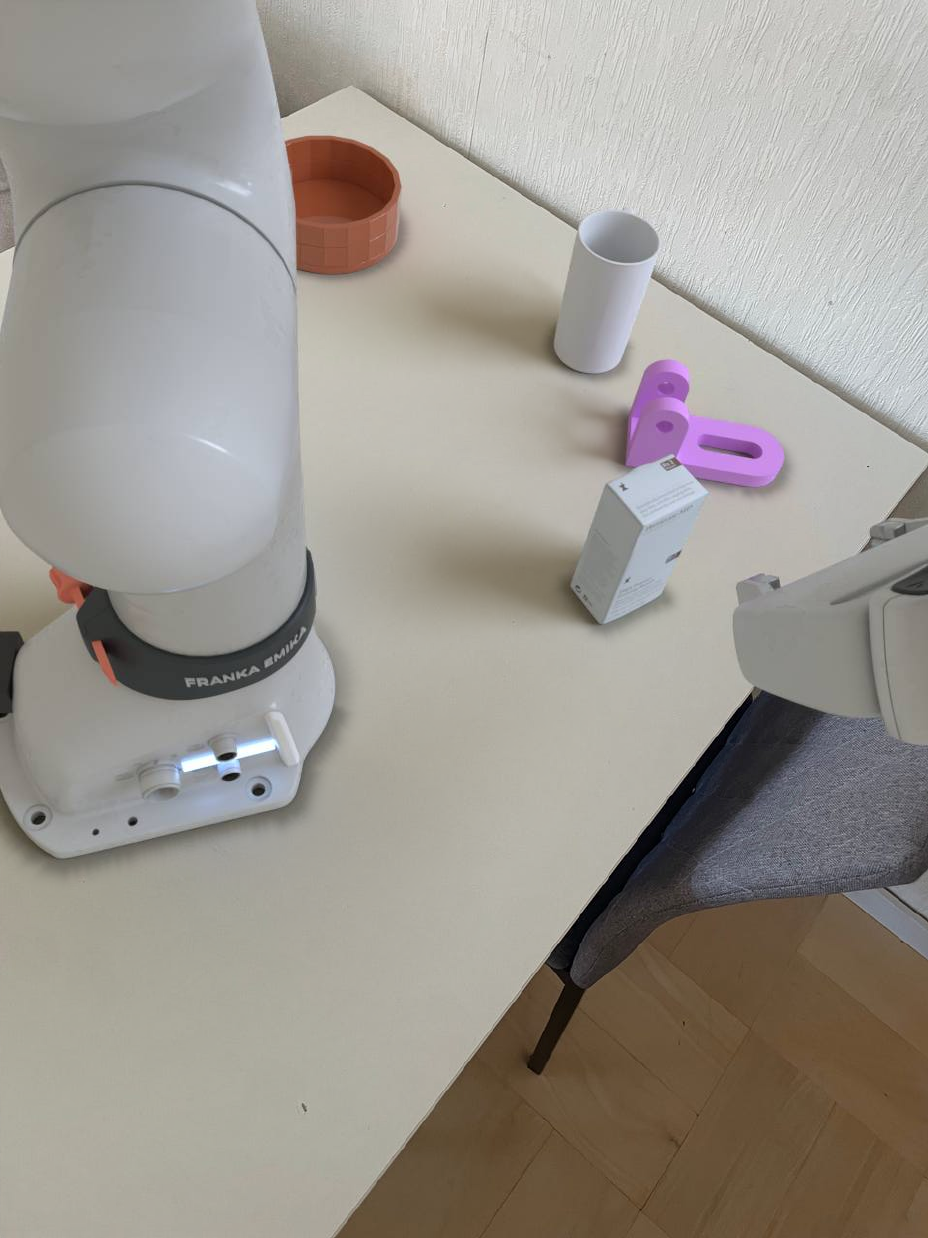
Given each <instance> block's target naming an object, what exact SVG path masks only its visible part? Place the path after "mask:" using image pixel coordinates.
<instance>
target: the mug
mask: <svg viewBox="0 0 928 1238" xmlns="http://www.w3.org/2000/svg"><path fill="white" fill-rule="evenodd" d="M661 248H662V239H661V236H660V234H659V232H658V231H657V229H656V227H654V225H653V224H652V223H650V222H649V221H648V220H647V219H646V218H644V217H642V216H640V215H638V214H636V213H635V210H634V209H633V208H631V207H629V206H626V207H623V208H622V209H617V208H616V209H615V208H610V209H609V208H606V209H600V210H595V211H593V212H590V213H588V214H587V215H586V216H584V217H583V218H582V220H580V222H579V224H578V227H577V232H576V235H575V239H574V244H573V247H572V252H571V257H570V262H569V265H568V266H569V267H568V270H567V275H566V276H567V277H566V280H565V285H564V291H563V295H562V298H561V299H562V300H561V304H560V309H559V314H558V317H557V322H556V326H555V333H554V337H553V338H554V339H553V349H554V352H555V354H556V356H557V358H559V360H560V361H561V362H562V363H563V364H564V365H565V366H566V367H569V368H570V369H572V370H575V371H577V372H581V373H584V374H590V375H591V374H595V375H596V374H597V375H598V374H603V373H606V372H609V371H611V370H613V369H614V368H616V367H617V366H618V364H619V363H620V362H621V360H622V358H623V355H624V353H625V350H626V348H627V345H628V343H629V339H630V337H631V334H632V331H633V329H634V325H635V322H636V319H637V317H638V313H639V311H640V308H641V305H642V303H643V300H644V297H645V294H646V292H647V289H648V286H649V283H650V281H651V278H652V274H653V272H654V269H655V266H656V263H657V260H658V256H659V254H660V251H661Z"/></svg>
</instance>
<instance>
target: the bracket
mask: <svg viewBox="0 0 928 1238" xmlns="http://www.w3.org/2000/svg"><path fill="white" fill-rule="evenodd" d="M689 392H690V371H689V369H688V368H687V366H686V365H685V364H683V362H680V361H679V360H674V359H660V360H656V361H654V362H652V363H650V364H649V365H647V367H646V368H645V370H644V371H643V374H642V377H641V380H640V382H639V385H638V389H637V391H636V393H635V396H634V399H633V401H632V404H631V407H630V411H629V414H628V416H627V430H626V431H627V433H626V450H625V466H626V467H632V468H636V467H639V466H641V465H644V464H648V463H652V462H654V461H656V460H659V459H661V458H663V457H665V456H667V455H670V454H673V455H674V456H675V458H676V459H677V460H678V461H679V462H680V463H681V464H682V465H683V466H684V467H685V468H686V469H687V470H688V471H689V472H690V473H691V474H692V475H693V476H694V477H695V479H702V480H708V481H711V482H712V481H713V482H720V483H724V484H729V485H736V486H742V487H747V488H748V487H749V488H758V487H759V488H760V487H764V486H767V485H768V484H770V483H771V482H772V481H774V480H775V479H776V477H777V476H778V474H779V472H780V470H781V468H782V466H783V465H784V462H785V452H784V449H783V446H782V445H781V443H780V442H779V440H778V439H777V438H776V437H775V436H774V435H773V434H771V432H769V431H766V430H765V429H763V428H761V427H758V426H754V425H750V424H744V423H738V422H733V421H727V420H721V419H716V418H709V417H704V416H699V415H693V414H690V411H689V408H688V406H687V404H685V402H686V399H687V397H688V394H689ZM701 446H704V447H709V448H715V449H720V450H726V451H727V450H728V451H731V452H738V453H744V454H748V455H750V456H752V457H753V458H750V457H746V456H745V457H744V456H740V455H734V454H728V453H724V452H722V453H721V452H718V451H717V452H716V451H710V450H706V449H703V448H701Z"/></svg>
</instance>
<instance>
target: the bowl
mask: <svg viewBox="0 0 928 1238" xmlns="http://www.w3.org/2000/svg"><path fill="white" fill-rule="evenodd" d="M285 145H286V151H287V157H288V163H289V169H290V175H291V181H292V187H293V194H294V200H295V211H296V264H297V269H299V270H301V271H305V272H310V273H315V274H320V275H321V274H322V275H343V274H350V273H355V272H359V271H363V270H365V269H368V268H370V267H372V266H374V265H376V264H377V263H378V264H379V262H381V261H382V260H383V259H385V258H386V257H387V256H388V255H389V254H390V253H391V251H392V250H393V248H394V247H395V245H396V244H397V243H396V242H397V240H398V236H399V227H400V218H401V205H402V204H401V202H402V189H403V185H402V181H401V177H400V172H399V171H398V169H397V168H396V167H395V166H394V163H392V161H391V160H390V159H389V158H388V157H387V156H385V154H383V153H382V152H380V151H379V150H377V149H375V148H374V147H373V146H371V145H367V144H365V143H362V142H361V141H358V140H355V139H351V138H347V137H342V136H336V135H305V136H300V137H295V138H291V139H286V140H285Z"/></svg>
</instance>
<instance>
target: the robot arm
mask: <svg viewBox="0 0 928 1238" xmlns="http://www.w3.org/2000/svg"><path fill="white" fill-rule="evenodd" d="M283 128H284V127H283V123H282V118H281V113H280V108H279V103H278V98H277V92H276V88H275V82H274V78H273V71H272V68H271V63H270V58H269V54H268V50H267V45H266V41H265V38H264V33H263V29H262V25H261V20H260V16H259V11H258V6H257V1H256V0H0V159H1V162H2V165H3V168H4V171H5V174H6V177H7V181H8V184H9V185H8V186H9V190H10V197H11V205H12V218H13V219H12V220H13V234H14V249H13V250H14V251H13V252H14V253H13V258H12V266H11V267H12V268H11V274H10V281H9V286H8V290H7V296H6V301H5V306H4V311H3V316H2V321H1V326H0V512H1V514H2V517H3V519H4V521H5V522H6V524H7V526H8V528H9V529H10V530H11V532H12V533H13V534H14V535H15V537H16V538H17V539H18V540H19V541H20V542H21V543H22V544H23V545H24V546H25V547H26V548H27V549H29V550H30V551H31V552H32V553H33V554H34V555H35V556H37V557H38V558H40V559H41V560H42V561H43V562H45V563H46V564H48V565H50V566H51V568H50V569H49V571H48V573H49V574H48V576H49V578H50V581H51V583H52V584H53V586H54V587H55V589H56V591H57V592H56V593H57V598H58V600H59V601H60V602H62V603H64V604H67V605H71V604H74V605H73V606H71V607H70V608H69V609H67V610H66V611H65V612H64V613H62V614H61V615H60V616H59V617H57V618H56V619H54V620H53V621H52V622H50V623H49V624H47V626H45V627H44V628H43V629H41V630H40V631H38V632H37V633H36V634H34V635H33V636H32V637H30V638H29V639H27V640H26V642H25V641H24V639H23V637H22V635H21V633H20V631H17V630H16V631H15V630H14V631H12V630H0V714H6V715H5V716H3V717H0V791H1V794H2V796H3V799H4V801H5V803H6V805H7V807H8V809H9V811H10V813H11V815H12V817H13V818H14V820H15V821H16V823H17V824H18V827H20V829H21V830H22V831H23V832H24V834H25V835H26V836H27V837H28V838H29V839H30V840H31V842H33V843H34V844H35V845H36V846H37V847H39V848H40V849H42V850H43V851H44V852H45V853H47V854H49V855H50V856H52V857H54V858H56V859H61V860H63V859H70V858H76V857H80V856H84V855H88V854H93V853H97V852H102V851H107V850H109V849H114V848H119V847H122V846H127V845H131V844H135V843H139V842H143V841H148V840H152V839H156V838H160V837H165V836H169V835H173V834H177V833H181V832H186V831H189V830H193V829H197V828H202V827H203V828H204V827H207V826H211V825H215V824H220V823H224V822H227V821H231V820H236V819H240V818H244V817H248V816H253V815H256V814H260V813H265V812H269V811H273V810H277V809H281V808H283V807H286V806H288V805H290V803H291V802H293V800H294V799H295V798H296V797H295V796H296V795H297V792H298V789H299V786H300V782H301V779H302V778H301V777H302V773H303V767H304V762H305V760H306V758H307V756H308V755H309V753H310V751H311V750H312V748H313V747H314V746H315V744H316V743H317V741H318V740H319V738H320V737H321V735H322V734H323V732H324V731H325V728H326V726H327V724H328V723H329V720H330V717H331V714H332V711H333V708H334V703H335V697H336V676H335V671H334V666H333V662H332V660H331V657H330V654H329V652H328V650H327V648H326V647H325V645H324V643H323V642H322V640H321V638H320V637H319V636H318V634H317V631H316V628H315V624H314V621H315V617H316V613H317V596H318V584H317V575H316V569H315V564H314V560H313V556H312V552H311V550H309V548H308V547H307V539H306V538H307V537H306V536H307V534H306V507H305V480H304V479H305V478H304V473H303V468H302V466H303V465H302V448H301V447H302V446H301V420H300V384H299V383H300V380H299V379H300V378H299V376H300V375H299V319H298V318H299V317H298V314H299V313H298V270H297V269H298V268H297V264H296V211H295V200H294V194H293V187H292V181H291V175H290V169H289V163H288V157H287V151H286V145H285V141H286V140H285V133H284V129H283ZM869 537H870V539H872V540H871V543H870V546H871V548H869V549H867V550H864V551H862V552H859V553H857V554H855V555H853V556H850V557H847V558H845V559H843V560H841V561H839V562H835V563H833V564H832V565H829V566H827V567H824V568H822V569H820V570H818V571H816V572H813V573H811V574H808V575H806V576H804V577H802V578H799V579H797V580H794V581H792V582H790V583H788V584H785V585H782V586H781V581H780V577H779V576H775V575H771V574H767V575H766V574H765V573H758V574H755V575H753V576H751V577H748V578H746V579H743V580H741V581H739V582H736V584H735V585H736V586H735V589H736V596H737V601H738V605H737V607H735V609H734V610H733V612H732V635H733V636H732V637H733V643H734V649H735V654H736V658H737V662H738V665H739V669H740V671H741V673H742V676H743V678H744V679H745V681H747V682H748V683H749V684H750V685H752V686H754V687H756V688H757V689H759V690H762V691H764V692H767V693H769V694H770V695H774V696H777V697H779V698H782V699H784V700H787V701H789V702H792V703H795V704H798V705H800V706H804V707H807V708H810V709H813V710H816V711H819V712H823V713H826V714H830V715H833V716H838V717H844V718H852V719H872V718H879V717H882V720H883V724H884V728H885V732H886V733H887V735H888V736H889V737H891V738H892V739H894V740H897V741H899V742H902V743H905V744H909V745H914V746H925V745H926V746H927V745H928V517H927V516H926V517H920V518H919V517H918V518H914V519H911V518H901V517H890V518H888V519H886V520H883V521H881V522H878V523H877V524H874V525H872V526H871V527H870V528H869ZM259 788H260V789H263V791H264V793H263V794H261V795H255V794H253V792H254V791H255V790H256V789H259ZM40 816H43V817H45V819H44V821H42V822H41V823H39V824H34V822H35V820H36V819H37V818H39V817H40ZM133 823H135V824H134V825H132V824H133Z"/></svg>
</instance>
